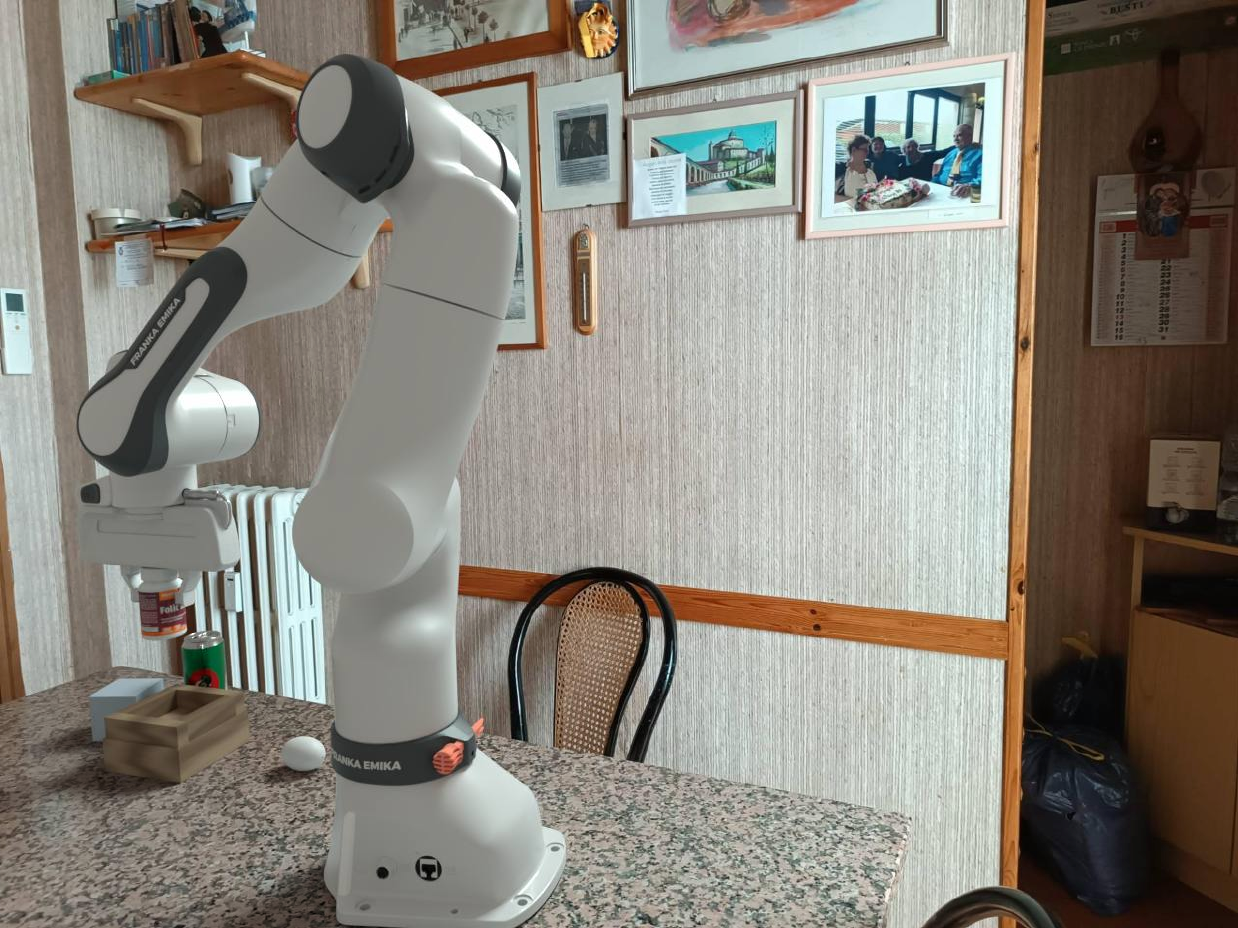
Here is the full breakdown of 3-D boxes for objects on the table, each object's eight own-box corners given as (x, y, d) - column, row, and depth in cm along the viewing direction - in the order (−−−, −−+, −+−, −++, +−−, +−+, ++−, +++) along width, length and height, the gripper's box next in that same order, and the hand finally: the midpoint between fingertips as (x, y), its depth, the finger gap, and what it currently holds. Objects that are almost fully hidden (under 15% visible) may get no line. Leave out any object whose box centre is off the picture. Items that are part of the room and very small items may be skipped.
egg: (314, 780, 91) (312, 748, 91) (271, 772, 93) (269, 741, 93) (336, 764, 95) (334, 734, 94) (294, 757, 97) (293, 727, 96)
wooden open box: (250, 740, 101) (246, 690, 101) (181, 782, 91) (176, 728, 90) (179, 730, 104) (176, 682, 104) (105, 770, 94) (100, 717, 93)
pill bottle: (166, 642, 92) (161, 571, 91) (132, 639, 93) (126, 569, 92) (196, 629, 97) (192, 562, 96) (163, 627, 98) (158, 560, 97)
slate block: (166, 721, 108) (163, 678, 107) (139, 741, 102) (135, 696, 101) (122, 721, 108) (118, 678, 107) (92, 741, 102) (88, 696, 101)
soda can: (237, 719, 108) (231, 633, 106) (201, 733, 103) (194, 644, 102) (215, 711, 110) (209, 627, 109) (179, 725, 106) (172, 637, 105)
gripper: (249, 486, 93) (255, 601, 95) (110, 482, 99) (118, 590, 100) (208, 494, 87) (216, 617, 89) (62, 489, 93) (72, 604, 94)
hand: (163, 603), depth 95 cm, fingers closed on pill bottle, 5 cm apart
